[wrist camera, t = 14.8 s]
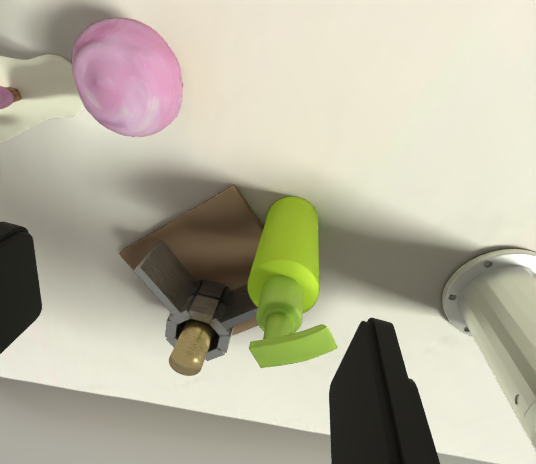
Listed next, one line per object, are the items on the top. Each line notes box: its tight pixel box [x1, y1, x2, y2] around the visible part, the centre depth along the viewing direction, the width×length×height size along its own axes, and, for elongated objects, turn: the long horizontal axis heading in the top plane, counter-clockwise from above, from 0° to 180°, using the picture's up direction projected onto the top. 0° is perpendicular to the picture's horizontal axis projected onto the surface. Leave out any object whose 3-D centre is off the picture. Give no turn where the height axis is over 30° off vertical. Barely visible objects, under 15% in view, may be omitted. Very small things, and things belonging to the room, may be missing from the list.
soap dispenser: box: [248, 196, 337, 368], centre depth 30 cm, size 6×7×20 cm
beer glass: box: [0, 54, 84, 143], centre depth 29 cm, size 7×7×15 cm
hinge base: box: [119, 185, 264, 335], centre depth 44 cm, size 18×18×1 cm
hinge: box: [134, 240, 258, 361], centre depth 41 cm, size 15×15×6 cm
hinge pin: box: [169, 319, 215, 376], centre depth 41 cm, size 4×4×10 cm
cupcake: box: [72, 18, 183, 137], centre depth 29 cm, size 9×9×10 cm
